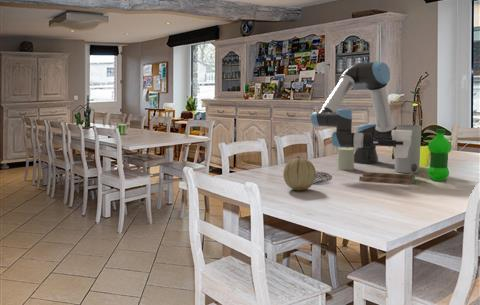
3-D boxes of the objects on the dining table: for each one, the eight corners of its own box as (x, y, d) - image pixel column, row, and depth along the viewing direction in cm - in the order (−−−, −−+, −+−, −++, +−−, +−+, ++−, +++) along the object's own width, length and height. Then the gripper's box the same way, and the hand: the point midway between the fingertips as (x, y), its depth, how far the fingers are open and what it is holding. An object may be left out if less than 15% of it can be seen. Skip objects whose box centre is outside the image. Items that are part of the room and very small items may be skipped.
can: (355, 168, 258) (355, 147, 256) (352, 170, 250) (352, 149, 248) (339, 166, 262) (339, 146, 260) (335, 169, 254) (336, 148, 252)
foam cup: (387, 155, 225) (388, 129, 223) (405, 155, 226) (406, 129, 224) (395, 158, 216) (396, 131, 214) (414, 158, 216) (415, 131, 215)
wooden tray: (359, 180, 223) (359, 163, 221) (362, 175, 236) (363, 158, 235) (416, 184, 213) (417, 166, 212) (416, 178, 226) (417, 161, 225)
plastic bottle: (422, 177, 229) (425, 128, 225) (443, 177, 229) (445, 128, 226) (432, 181, 219) (435, 130, 215) (453, 181, 219) (456, 130, 216)
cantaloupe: (293, 195, 194) (293, 160, 192) (277, 188, 208) (277, 156, 205) (322, 191, 200) (323, 158, 198) (304, 185, 213) (305, 153, 211)
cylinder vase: (407, 174, 237) (409, 127, 234) (389, 170, 248) (391, 125, 245) (424, 172, 243) (426, 126, 239) (405, 168, 254) (407, 124, 250)
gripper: (365, 145, 237) (411, 147, 229) (360, 150, 217) (410, 152, 208) (366, 131, 236) (411, 132, 228) (360, 135, 216) (410, 136, 207)
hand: (411, 142), depth 218 cm, fingers closed on foam cup, 9 cm apart
